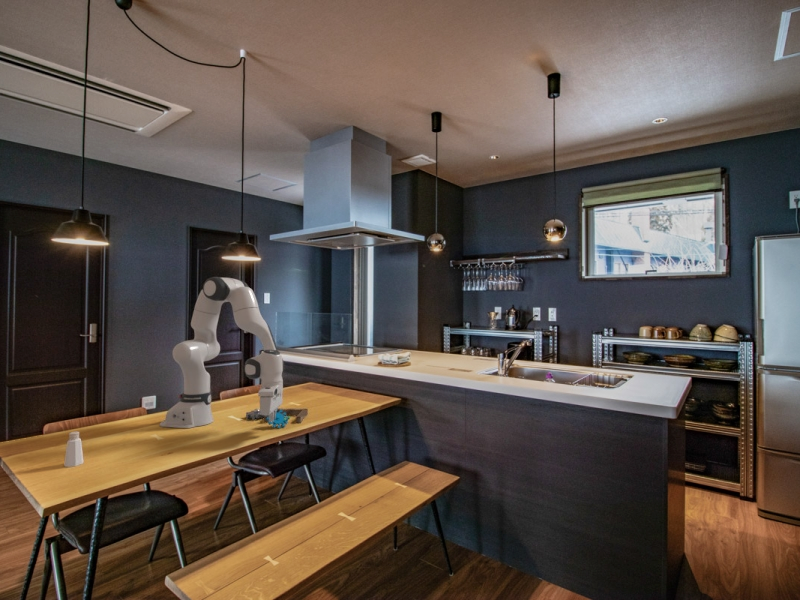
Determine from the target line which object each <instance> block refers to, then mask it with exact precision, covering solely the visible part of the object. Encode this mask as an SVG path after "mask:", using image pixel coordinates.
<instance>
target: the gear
mask: <svg viewBox="0 0 800 600" xmlns="http://www.w3.org/2000/svg"><path fill="white" fill-rule="evenodd" d="M278 409H279V408H277V409H276V415H275V420H274V421H269V422H268V423H267V424H268V425H269V426H270V425H272V426H271V427H272V428H273V429H275V428H277V429H278V430H280V429H281V428H285V427H286V425H287V424H288V423H289V421H288V420H290V419H291V416H286V413H283V414H280V413H282V410H280V411H279V412H278V413H277V411H278ZM283 415H284V416H283ZM267 416H269V415H267ZM266 420H267V421H268V420H269V417H267V419H266ZM277 425H278V426H277ZM276 426H277V427H276ZM279 428H280V429H279Z"/></svg>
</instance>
